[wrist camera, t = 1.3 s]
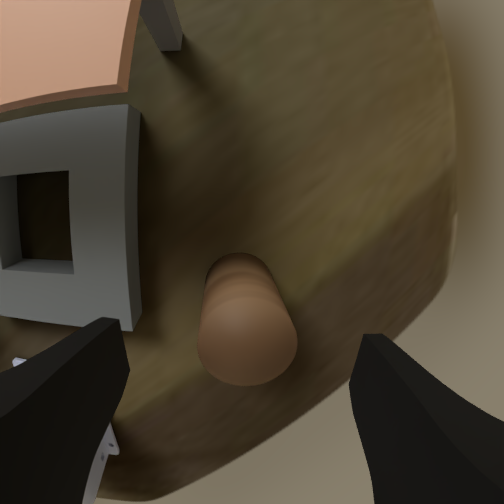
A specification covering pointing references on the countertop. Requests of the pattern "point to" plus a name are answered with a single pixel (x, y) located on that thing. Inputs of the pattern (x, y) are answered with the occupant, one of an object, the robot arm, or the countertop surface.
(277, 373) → the peg
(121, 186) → the socket
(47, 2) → the orange bridge
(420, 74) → the countertop surface
